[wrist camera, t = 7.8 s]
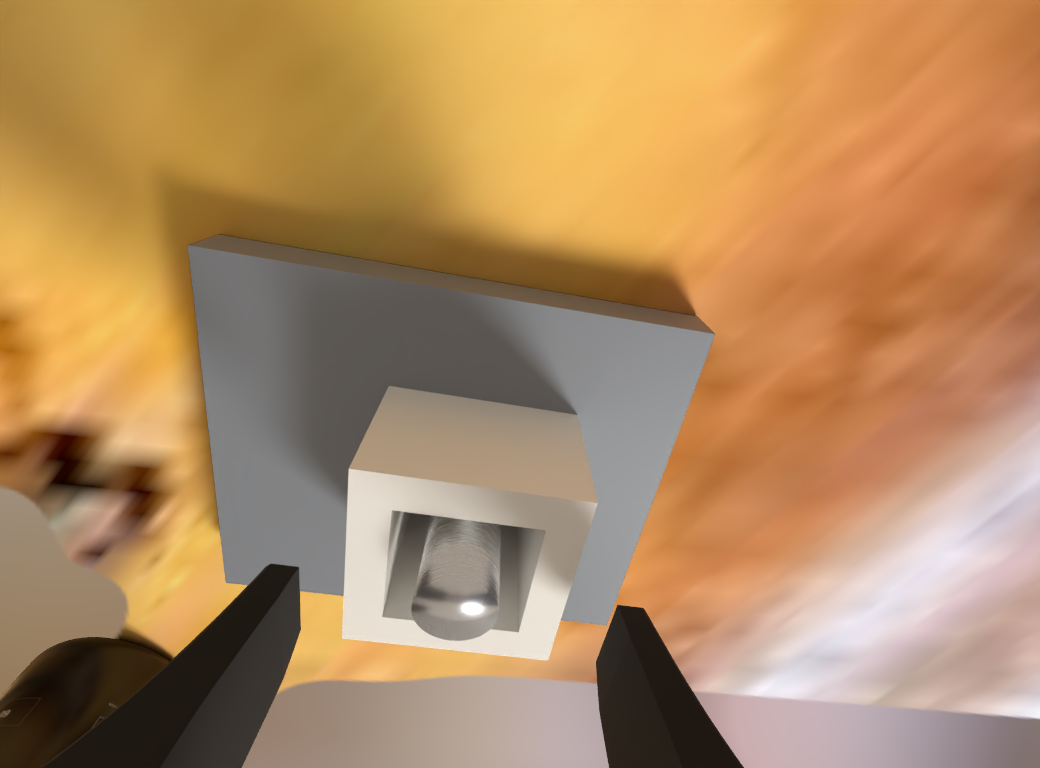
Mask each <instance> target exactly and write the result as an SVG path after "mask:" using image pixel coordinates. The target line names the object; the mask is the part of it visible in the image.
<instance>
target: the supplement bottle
mask: <svg viewBox="0 0 1040 768" xmlns="http://www.w3.org/2000/svg"><path fill="white" fill-rule="evenodd" d="M169 662H170V661H169V660H168V659H166V658H164V657H163V656H161V655H159V654H158V653H156V652H154V651H152V650H150V649H147V648H145V647H142V646H139V645H137V644H133V643H130V642H126V641H122V640H117V639H111V638H101V637H87V638H78V639H73V640H68V641H65V642H63V643H59V644H57V645H55V646H53V647H51V648H49V649H47V650H46V651H44V652H43V653H41V654H40V655H39V656H38V657H36V659H34V660H33V661H32V662H31V663H30V665H29V666H28V667H27V668H26V669H25V670H24V671H23V672H22V673H21V674H20V675H19V676H18V678H17V679H16V680H15V681H14V682H13V683H12V684H11V685H10V686H9V687H8V688H7V689H6V690H5V692H4V693H3V694H2V695H1V696H0V768H40V767H42V766H43V765H44V764H46V763H47V762H48V761H50V760H51V759H52V758H54V757H55V756H56V755H58V754H59V753H60V752H62V751H63V750H64V749H66V748H67V747H68V746H70V745H71V744H72V743H74V742H75V741H76V740H77V739H79V738H80V737H81V736H82V735H84V734H85V733H86V732H87V731H89V730H90V729H91V728H93V727H94V726H95V725H96V724H98V723H99V722H100V721H101V720H103V719H104V718H105V717H106V716H107V715H109V714H110V713H111V712H112V711H114V710H115V709H116V708H117V707H118V706H120V705H121V704H122V703H123V702H124V701H126V700H127V699H128V698H129V697H130V696H131V695H133V694H134V693H135V692H136V691H137V690H138V689H140V688H141V687H142V686H143V685H144V684H145V683H146V682H147V681H149V680H150V679H151V678H152V677H153V676H154V675H155V674H157V673H158V672H159V671H160V670H161V669H162V668H163V667H164V666H166V665H167V664H168V663H169Z"/></svg>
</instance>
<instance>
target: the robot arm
mask: <svg viewBox="0 0 1040 768" xmlns="http://www.w3.org/2000/svg"><path fill="white" fill-rule="evenodd" d="M300 630H301V625H300V582H299V567H296V566H288V565H279V564H269V565H268V566H266V567H265V568H264V569H263V570H262V571H261V572H260V573H259V574H258V575H257V576H256V578H255V579H254V580H253V581H252V582H251V583H250V584H249V585H248V586H247V587H246V588H245V589H244V590H243V591H242V592H241V593H240V594H239V595H238V596H237V597H236V598H235V599H234V600H233V602H232V603H231V604H230V605H229V606H228V607H227V608H226V609H225V610H224V611H223V612H222V613H221V614H220V615H219V616H218V617H217V618H216V619H215V620H214V621H212V622H211V623H210V624H209V625H208V626H207V627H206V628H205V629H204V630H203V631H202V632H201V633H200V634H199V635H198V636H197V637H196V638H195V639H194V640H193V641H192V642H191V643H190V644H188V645H187V646H186V647H185V648H184V649H183V650H182V651H181V652H180V653H179V654H178V655H177V656H176V657H175V658H173V659H172V660H171V661H170V662H169V663H168V664H167V665H166V666H164V667H163V668H162V669H161V670H160V671H159V672H158V673H157V674H155V675H154V676H153V677H152V678H151V679H150V680H149V681H147V682H146V683H145V684H144V685H143V686H142V687H141V688H140V689H138V690H137V691H136V692H135V693H134V694H133V695H131V696H130V697H129V698H128V699H127V700H126V701H124V702H123V703H122V704H121V705H120V706H118V707H117V708H116V709H115V710H114V711H112V712H111V713H110V714H109V715H107V716H106V717H105V718H104V719H103V720H101V721H100V722H99V723H98V724H96V725H95V726H94V727H93V728H91V729H90V730H89V731H87V732H86V733H85V734H84V735H82V736H81V737H80V738H79V739H77V740H76V741H75V742H74V743H72V744H71V745H70V746H68V747H67V748H66V749H64V750H63V751H62V752H60V753H59V754H58V755H56V756H55V757H54V758H52V759H51V760H50V761H48V762H47V763H46V764H44V765H43V766H42V767H40V768H242V766H243V763H244V761H245V759H246V757H247V755H248V753H249V751H250V749H251V747H252V744H253V742H254V740H255V738H256V736H257V734H258V732H259V729H260V728H261V725H262V723H263V721H264V719H265V717H266V715H267V713H268V711H269V708H270V706H271V704H272V702H273V700H274V698H275V696H276V694H277V691H278V689H279V687H280V685H281V683H282V680H283V678H284V675H285V673H286V670H287V667H288V664H289V662H290V659H291V656H292V653H293V650H294V647H295V644H296V642H297V639H298V636H299V633H300ZM596 668H597V685H598V697H599V710H600V716H601V723H602V729H603V734H604V741H605V746H606V752H607V758H608V763H609V768H744V767H743V766H742V764H741V763H740V762H739V760H738V759H737V758H736V756H735V755H734V753H733V752H732V750H731V749H730V747H729V746H728V744H727V743H726V742H725V740H724V739H723V737H722V736H721V735H720V733H719V731H718V730H717V728H716V727H715V725H714V724H713V723H712V721H711V719H710V718H709V716H708V715H707V714H706V712H705V710H704V709H703V707H702V705H701V704H700V702H699V701H698V699H697V698H696V696H695V694H694V693H693V691H692V690H691V688H690V686H689V685H688V683H687V682H686V680H685V678H684V677H683V675H682V673H681V672H680V670H679V668H678V667H677V665H676V663H675V662H674V660H673V658H672V656H671V655H670V653H669V651H668V650H667V648H666V646H665V644H664V643H663V641H662V639H661V637H660V636H659V634H658V632H657V630H656V629H655V627H654V625H653V623H652V622H651V620H650V618H649V616H648V615H647V613H646V611H645V610H644V609H643V608H639V607H630V606H622V605H617V608H616V611H615V613H614V616H613V619H612V621H611V624H610V626H609V629H608V632H607V634H606V637H605V640H604V642H603V645H602V648H601V650H600V653H599V656H598V658H597V661H596Z"/></svg>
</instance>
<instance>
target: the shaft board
mask: <svg viewBox="0 0 1040 768" xmlns="http://www.w3.org/2000/svg"><path fill="white" fill-rule="evenodd" d="M188 253H189V262H190V270H191V279H192V288H193V297H194V306H195V315H196V323H197V332H198V341H199V350H200V359H201V368H202V376H203V385H204V394H205V403H206V412H207V421H208V430H209V438H210V447H211V456H212V465H213V474H214V483H215V491H216V500H217V509H218V518H219V527H220V536H221V544H222V553H223V562H224V571H225V580H226V583H233V584H242V585H249V584H250V583H251V582H252V581H253V580H254V579H255V578H256V576H257V575H258V574H259V573H260V572H261V571H262V570H263V569H264V568H265V567H266V566H268V565H269V564H279V565H288V566H296V567H299V582H300V591H305V592H314V593H323V594H331V595H340V596H344V576H345V550H346V525H347V499H348V473H349V467H350V465H351V463H352V461H353V459H354V457H355V455H356V453H357V451H358V448H359V446H360V444H361V442H362V440H363V438H364V436H365V434H366V432H367V430H368V428H369V426H370V424H371V422H372V420H373V418H374V416H375V413H376V411H377V409H378V407H379V405H380V403H381V401H382V399H383V397H384V395H385V393H386V391H387V389H388V387H389V386H393V387H400V388H406V389H413V390H419V391H426V392H432V393H439V394H445V395H452V396H458V397H465V398H471V399H478V400H484V401H491V402H497V403H504V404H510V405H517V406H523V407H530V408H536V409H543V410H549V411H556V412H562V413H569V414H575V415H578V418H579V422H580V427H581V431H582V435H583V440H584V444H585V449H586V453H587V457H588V462H589V466H590V471H591V475H592V479H593V484H594V488H595V493H596V497H597V501H598V504H597V507H596V511H595V514H594V517H593V520H592V523H591V526H590V529H589V533H588V536H587V539H586V542H585V545H584V548H583V551H582V555H581V558H580V561H579V564H578V567H577V570H576V573H575V577H574V580H573V583H572V586H571V589H570V592H569V595H568V599H567V602H566V605H565V608H564V611H563V614H562V617H561V620H564V621H572V622H581V623H590V624H599V625H607V623H608V620H609V618H610V615H611V612H612V610H613V607H614V604H615V602H616V599H617V596H618V594H619V591H620V588H621V586H622V583H623V580H624V578H625V575H626V572H627V570H628V567H629V564H630V561H631V559H632V556H633V553H634V551H635V548H636V545H637V543H638V540H639V537H640V535H641V532H642V529H643V527H644V524H645V521H646V519H647V516H648V513H649V510H650V508H651V505H652V502H653V500H654V497H655V494H656V492H657V489H658V486H659V484H660V481H661V478H662V476H663V473H664V470H665V468H666V465H667V462H668V460H669V457H670V454H671V451H672V449H673V446H674V443H675V441H676V438H677V435H678V433H679V430H680V427H681V425H682V422H683V419H684V417H685V414H686V411H687V409H688V406H689V403H690V401H691V398H692V395H693V392H694V390H695V387H696V384H697V382H698V379H699V376H700V374H701V371H702V368H703V366H704V363H705V360H706V358H707V355H708V352H709V350H710V347H711V344H712V342H713V339H714V336H715V333H714V332H713V331H712V330H711V329H710V328H709V327H708V326H707V325H706V324H705V323H704V322H703V321H702V320H701V319H700V318H699V317H698V316H692V315H687V314H681V313H675V312H669V311H663V310H657V309H652V308H646V307H640V306H634V305H628V304H622V303H616V302H611V301H605V300H599V299H593V298H587V297H581V296H576V295H570V294H564V293H558V292H552V291H546V290H541V289H535V288H529V287H523V286H517V285H511V284H505V283H500V282H494V281H488V280H482V279H476V278H470V277H465V276H459V275H453V274H447V273H441V272H435V271H430V270H424V269H418V268H412V267H406V266H400V265H394V264H389V263H383V262H377V261H371V260H365V259H359V258H354V257H348V256H342V255H336V254H330V253H324V252H318V251H313V250H307V249H301V248H295V247H289V246H283V245H278V244H272V243H266V242H260V241H254V240H248V239H243V238H237V237H231V236H225V235H219V234H218V235H216V236H213V237H210V238H207V239H204V240H201V241H199V242H196V243H193V244H190V245H188ZM414 514H417V513H414ZM422 515H425V514H422ZM430 516H431V518H430V522H429V527H428V532H427V537H426V541H425V546H424V551H423V555H422V560H421V565H420V569H419V574H418V579H417V584H416V588H415V593H414V598H413V602H412V607H411V611H412V616H413V619H414V621H415V622H416V624H417V625H418V626H419V627H420V628H421V629H422V630H423V631H425V632H426V633H428V634H430V635H432V636H434V637H437V638H440V639H444V640H450V641H463V640H469V639H473V638H477V637H479V636H481V635H483V634H485V633H486V632H488V631H489V630H490V629H491V628H492V627H493V626H494V625H495V623H496V621H497V619H498V614H499V583H500V550H501V524H493V523H485V522H478V521H470V520H463V519H455V518H447V517H440V516H432V515H430ZM506 526H508V525H506ZM513 527H516V526H513Z"/></svg>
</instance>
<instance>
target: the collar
mask: <svg viewBox="0 0 1040 768" xmlns="http://www.w3.org/2000/svg"><path fill="white" fill-rule="evenodd" d="M597 504H598V501H597V497H596V493H595V488H594V484H593V479H592V475H591V471H590V466H589V462H588V457H587V453H586V449H585V444H584V440H583V435H582V431H581V427H580V422H579V418H578V415H575V414H569V413H562V412H556V411H549V410H543V409H536V408H530V407H523V406H517V405H510V404H504V403H497V402H491V401H484V400H478V399H471V398H465V397H458V396H452V395H445V394H439V393H432V392H426V391H419V390H413V389H406V388H400V387H393V386H389V387H388V389H387V391H386V393H385V395H384V397H383V399H382V401H381V403H380V405H379V407H378V409H377V411H376V413H375V416H374V418H373V420H372V422H371V424H370V426H369V428H368V430H367V432H366V434H365V436H364V438H363V440H362V442H361V444H360V446H359V448H358V451H357V453H356V455H355V457H354V459H353V461H352V463H351V465H350V467H349V473H348V499H347V525H346V550H345V576H344V602H343V627H342V638H344V639H353V640H363V641H372V642H381V643H390V644H400V645H409V646H418V647H427V648H437V649H446V650H455V651H465V652H474V653H483V654H492V655H502V656H511V657H520V658H529V659H539V660H548V658H549V655H550V652H551V649H552V646H553V642H554V639H555V636H556V633H557V630H558V627H559V624H560V620H561V617H562V614H563V611H564V608H565V605H566V602H567V599H568V595H569V592H570V589H571V586H572V583H573V580H574V577H575V573H576V570H577V567H578V564H579V561H580V558H581V555H582V551H583V548H584V545H585V542H586V539H587V536H588V533H589V529H590V526H591V523H592V520H593V517H594V514H595V511H596V507H597ZM414 513H417V514H414ZM422 514H425V515H422ZM430 515H432V516H440V517H447V518H455V519H463V520H470V521H478V522H485V523H493V524H501V550H500V583H499V614H498V619H497V621H496V623H495V625H494V626H493V627H492V628H491V629H490V630H489V631H488V632H486V633H485V634H483V635H481V636H479V637H477V638H473V639H469V640H463V641H450V640H444V639H440V638H437V637H434V636H432V635H430V634H428V633H426V632H425V631H423V630H422V629H421V628H420V627H419V626H418V625H417V624H416V622H415V621H414V619H413V616H412V611H411V607H412V602H413V598H414V593H415V588H416V584H417V579H418V574H419V569H420V565H421V560H422V555H423V551H424V546H425V541H426V537H427V532H428V527H429V522H430V518H431V516H430ZM506 525H508V526H506ZM513 526H516V527H513Z"/></svg>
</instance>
